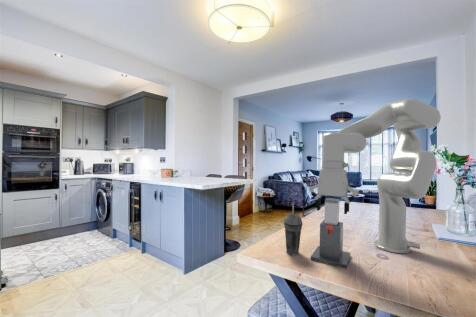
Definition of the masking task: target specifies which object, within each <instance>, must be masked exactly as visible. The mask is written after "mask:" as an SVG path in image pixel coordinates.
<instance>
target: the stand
mask: <svg viewBox="0 0 476 317" xmlns="http://www.w3.org/2000/svg"><path fill="white" fill-rule="evenodd" d="M324 221H325V219H323V220H322V221H321V222H320V224H319V245H318V246H317V247H316V248H315V249H314V251H313V252H312V254H311V256H310V260H311V261H314V262H318V263H322V264H326V265H330V266H335V267H338V268H343V269H348V266H349V262H350V259H351V252H350V251H349V252H348V251H344V250H343V247H344V246H343V245H344V243H343V242H344V222H341V221H339V225H338V226H334V225H328V224H324Z"/></svg>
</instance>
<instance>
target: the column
mask: <svg viewBox="0 0 476 317" xmlns="http://www.w3.org/2000/svg"><path fill="white" fill-rule="evenodd" d="M324 220H325V221H324V224H328V225H334V226H338V225H339V222H340V199H339V198H332V197H331V198H330V197H327V198H325V199H324Z"/></svg>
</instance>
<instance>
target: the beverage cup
mask: <svg viewBox="0 0 476 317" xmlns="http://www.w3.org/2000/svg"><path fill="white" fill-rule="evenodd" d="M291 204H292V206H291V207H292V212H290V213H287V215H285V217H284V220H283V227H284V232H285V233H284V234H285V236H284V237H285V248H286V253H287V254H288V255H290V256H291V255H293V256H297V255H299V250H300V244H301V243H300V242H301V235H302V229H303V219H302V218H301V215H299V214H298V213H296V212H295V202H292V203H291Z"/></svg>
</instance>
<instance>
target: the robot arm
mask: <svg viewBox="0 0 476 317" xmlns="http://www.w3.org/2000/svg"><path fill="white" fill-rule="evenodd" d="M440 122H441V112H440V111H439V109H437V108H436V107H435V106H433V105H431V104H428V103H426V102H424V101H421V100H418V99H416V98H415V99H414V98H406V99H405V98H404V99H402V100H396V101H391V102H389V103H385V104H384V105H382V106H381V107H379V108H378V109H377V110H375V111H374V112H372V113H371V114H369V115H368V116H367V117H364V118H362V119H360V120H358V121H356V122H354V123H352V124H350V125H348V126H346V127H343V128H341V129H340V130H339V131H337V132H327V133H324V135H323V137H322V164H321V165H322V166H321V169H319V174H318V181H317V184H314V185H312V186H310V187H308V191H309V192H310V195H311V196H312V197H313V199H314V200H315V208H316V210H317V211H320V210H321V206H322V205H321V204H322V200H321V197H322V196H323V197H334V198H342V199H343V201H344V204H343V205H344V207H343V210H344V211H343V214H344V215H347V214H348V212H349V213H350V203H351V202H353V201H354V200H355V199H356V197H357V195H358V194H359V191H358V190H357V189H355V188H353V187H352V186H349V184H348V183H349V181H348V173H347V170H346V169H345V168H349V163H348V162H345V154H357V153H361V152H362V151H364V150H365V149H366V147H367V146H368V142H367V139H369V138H373V137H377V136H380V135H381V134H382V133H384V132H385V131H387V129H389V128H390V127H392V126H393V128H394V130H395V133H396V136H397V141H396V142H397V143H396V146H395V147H394V150H393V153H392V155H391V158H390V161H389V169H391V170H392V171H393V172H385V173H382V174H380V175H379V177H378V178H377V180H376V187H377V191H378V192H377V193H378V198H379V199H378V200H379V205H378V206H379V207H378V239H375V240H374V242H373V244H374V246H375V247H376V248H378V249H381V250H383V251H385V252H389V253H395V254H408V253H410V252H411V248H413V249H418V250H421V244H420V243H416V241H410V240H408V239H407V236H406V235H407V234H406V233H407V206H406V205H407V204H406V203H405V200H404V199H403V198H405V199H411V200H420V199H423V198H424V197H425V196H426V195H427V192H428V191H429V188H430V185H431V184H432V180H433V177H434V174H435V172H436V170H437V157H436V156H435V154H434V153H433V152H431V151H429V150H426V149H425V150H423V149H421V148H422V140H421V138H420V137H419V135H418V134H417V133H416V131H415V130H424V129H425V130H426V129H432V128H435V127H436V126H438V125H439V123H440ZM420 149H421V150H420ZM315 189H317V193H316V192H315ZM348 192H351V193H352V194H351V196H350V197H348V195H349V194H348Z"/></svg>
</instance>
